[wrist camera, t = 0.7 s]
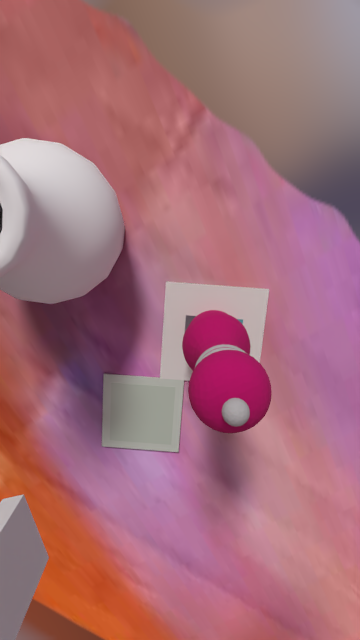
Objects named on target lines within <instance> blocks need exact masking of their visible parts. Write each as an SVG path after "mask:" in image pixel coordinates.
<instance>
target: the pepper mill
mask: <svg viewBox="0 0 360 640" xmlns="http://www.w3.org/2000/svg"><path fill="white" fill-rule="evenodd" d="M250 347H251V346H250V339H249V336H248V333H247V331H246V329H245V327H244V326H243V325H242V323H241V322H240V321H239V320H237V319H236V318H235V317H233V316H231V315H228V314H227V313H225V312H222V311H219V310H209V311H205V312H202V313H200V314H199V315H197V316H196V317H195V318H194V319H193V320H192V321H191V323H190V325H189V326H188V328H187V329H186V331H185V334H184V336H183V341H182V349H183V354H184V358H185V360H186V362H187V364H188V366H189V367H190V368H191V369H192V371H193V372H192V375H191V377H190V382H189V390H188V392H189V399H190V402H191V405H192V408H193V410H194V412H195V413H196V415H197V416H198V417H199V419H200V420H201V421H202V422H203V423H204V424H205V425H207V426H209V427H210V428H212V429H214V430H216V431H219V432H223V433H237V432H241V431H245V430H247V429H250V428H252V427H253V426H255V425H256V424H257V423H258V422H259V421H260V420H261V419H262V418H263V417H264V416H265V414H266V412H267V411H268V408H269V405H270V401H271V384H270V381H269V377H268V375H267V373H266V371H265V369H264V368H263V367H262V365H261V364H260V363H259V362H258V361H257V360H256V359H255V358H254V357H252V356H250Z"/></svg>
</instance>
